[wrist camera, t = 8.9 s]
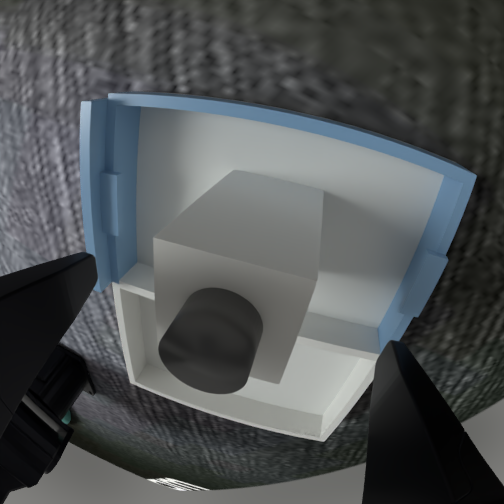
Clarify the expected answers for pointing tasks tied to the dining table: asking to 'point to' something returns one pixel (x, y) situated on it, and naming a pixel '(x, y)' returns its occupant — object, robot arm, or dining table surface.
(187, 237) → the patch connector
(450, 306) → the dining table surface
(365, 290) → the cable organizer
